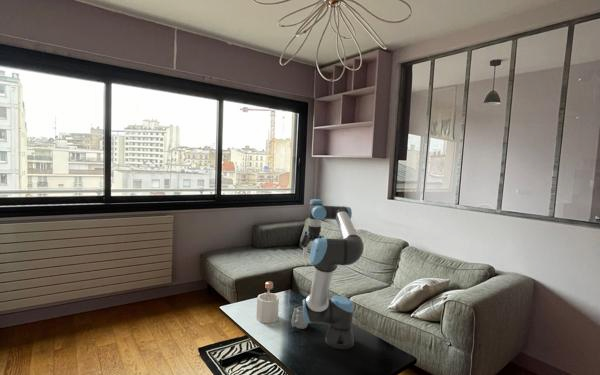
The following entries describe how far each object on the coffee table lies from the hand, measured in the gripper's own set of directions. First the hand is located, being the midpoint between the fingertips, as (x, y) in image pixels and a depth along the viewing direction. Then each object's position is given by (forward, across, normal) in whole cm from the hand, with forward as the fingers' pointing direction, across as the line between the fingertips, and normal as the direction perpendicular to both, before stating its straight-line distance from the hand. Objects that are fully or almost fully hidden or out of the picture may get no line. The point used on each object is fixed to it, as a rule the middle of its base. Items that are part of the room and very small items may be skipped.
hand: (312, 260), depth 200 cm
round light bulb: (+31, +12, +22) cm, 40 cm away
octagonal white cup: (+35, +14, +22) cm, 43 cm away
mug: (+35, -6, +13) cm, 38 cm away
